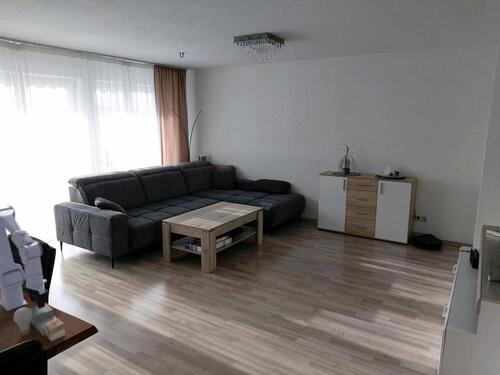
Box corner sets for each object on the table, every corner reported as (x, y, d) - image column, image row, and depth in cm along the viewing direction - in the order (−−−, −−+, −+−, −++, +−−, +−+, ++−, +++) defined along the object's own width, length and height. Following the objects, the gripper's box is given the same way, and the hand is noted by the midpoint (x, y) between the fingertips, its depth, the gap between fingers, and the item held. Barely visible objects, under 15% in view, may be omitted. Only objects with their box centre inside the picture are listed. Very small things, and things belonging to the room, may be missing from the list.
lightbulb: (26, 340, 134) (22, 313, 132) (12, 338, 136) (8, 311, 133) (39, 330, 140) (35, 305, 138) (25, 329, 141) (21, 303, 139)
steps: (29, 321, 146) (27, 309, 145) (47, 314, 151) (45, 302, 150) (43, 335, 137) (41, 322, 136) (60, 327, 142) (59, 314, 141)
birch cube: (49, 329, 133) (51, 341, 134) (63, 323, 137) (65, 335, 138) (44, 324, 136) (46, 335, 137) (58, 318, 140) (59, 329, 141)
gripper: (51, 275, 141) (55, 306, 144) (37, 264, 151) (41, 294, 154) (31, 281, 136) (36, 313, 139) (18, 270, 146) (23, 300, 148)
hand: (38, 304), depth 146 cm, fingers open, 7 cm apart
